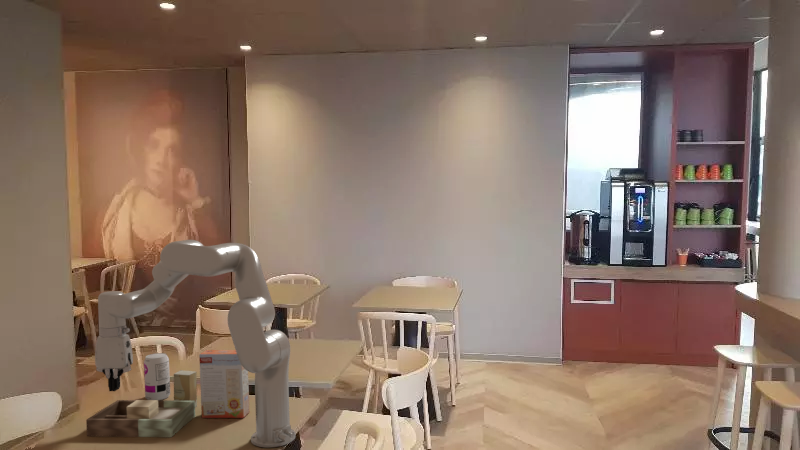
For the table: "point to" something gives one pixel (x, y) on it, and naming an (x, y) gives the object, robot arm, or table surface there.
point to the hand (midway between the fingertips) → (114, 389)
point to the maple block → (142, 409)
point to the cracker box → (223, 385)
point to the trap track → (141, 420)
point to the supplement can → (157, 376)
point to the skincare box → (185, 386)
